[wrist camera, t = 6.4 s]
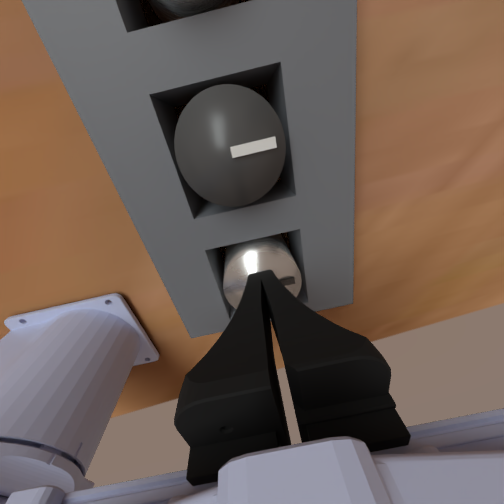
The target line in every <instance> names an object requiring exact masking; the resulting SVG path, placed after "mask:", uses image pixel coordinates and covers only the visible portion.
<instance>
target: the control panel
mask: <svg viewBox="0 0 504 504" xmlns="http://www.w3.org/2000/svg"><path fill="white" fill-rule="evenodd" d="M22 2H23V4H24V6H25V8H26V10H27V12H28V14H29V16H30V18H31V20H32V22H33V24H34V26H35V28H36V30H37V32H38V34H39V36H40V38H41V40H42V42H43V44H44V46H45V48H46V50H47V52H48V54H49V56H50V58H51V60H52V62H53V64H54V66H55V68H56V70H57V72H58V74H59V76H60V78H61V80H62V82H63V84H64V86H65V88H66V90H67V92H68V94H69V96H70V98H71V100H72V102H73V104H74V106H75V108H76V110H77V112H78V114H79V116H80V118H81V120H82V122H83V124H84V126H85V128H86V130H87V132H88V134H89V136H90V138H91V140H92V142H93V144H94V146H95V148H96V150H97V152H98V154H99V156H100V158H101V160H102V162H103V164H104V166H105V168H106V170H107V172H108V174H109V176H110V178H111V179H112V181H113V183H114V185H115V187H116V189H117V191H118V193H119V195H120V197H121V199H122V201H123V203H124V205H125V207H126V209H127V211H128V213H129V215H130V217H131V219H132V221H133V223H134V225H135V227H136V229H137V231H138V233H139V235H140V237H141V239H142V241H143V243H144V245H145V247H146V249H147V251H148V253H149V255H150V257H151V259H152V261H153V263H154V265H155V267H156V269H157V271H158V273H159V275H160V277H161V279H162V281H163V283H164V285H165V287H166V289H167V291H168V293H169V295H170V297H171V299H172V301H173V303H174V305H175V307H176V309H177V311H178V313H179V315H180V317H181V319H182V321H183V323H184V325H185V327H186V329H187V331H188V333H189V335H190V337H191V338H195V337H199V336H204V335H209V334H213V333H218V332H223V331H224V330H225V329H226V327H227V325H228V324H229V322H230V320H231V319H232V317H233V315H234V313H235V311H236V309H235V308H234V307H233V306H232V305H231V304H230V303H229V302H228V300H227V299H226V297H225V294H224V290H223V281H224V266H225V265H224V262H223V259H222V256H221V253H220V250H219V247H222V246H227V245H231V244H236V243H240V242H245V241H249V240H253V239H258V238H262V237H267V236H271V235H275V234H280V233H284V232H288V236H289V243H290V250H291V255H292V257H293V259H294V261H295V263H296V265H297V267H298V269H299V271H300V274H301V280H302V283H301V289H300V291H299V294H298V296H297V297H296V298H297V299H298V300H300V301H301V302H302V303H303V304H305V305H306V306H307V307H309V308H310V309H311V310H313V311H314V312H316V311H320V310H325V309H330V308H334V307H339V306H344V305H348V304H353V272H354V192H355V111H356V30H357V0H251V1H247V2H244V3H240V4H236V5H232V6H228V7H224V8H221V9H217V10H213V11H209V12H205V13H201V14H197V15H194V16H190V17H186V18H182V19H178V20H174V21H170V22H167V23H163V24H159V25H155V26H151V27H148V25H147V22H146V19H145V16H144V13H143V9H142V6H141V3H140V0H22ZM222 84H234V85H240V86H243V87H246V88H253V87H257V86H261V85H265V84H267V91H268V98H269V104H270V105H271V106H272V108H273V109H274V110H275V112H276V114H277V115H278V117H279V119H280V122H281V124H282V127H283V130H284V135H285V142H286V155H285V161H284V165H283V169H282V171H281V174H280V181H279V182H276V183H275V184H274V186H273V187H272V188H271V189H270V190H269V191H268V192H267V193H266V194H265V195H264V196H263V197H261V198H260V199H258V200H256V201H254V202H252V203H250V204H247V205H243V206H236V207H229V206H222V205H218V204H215V203H212V202H210V201H208V200H206V199H203V197H201V196H200V195H199V194H197V193H196V192H195V191H194V190H193V189H192V188H191V187H190V186H189V184H188V183H187V182H186V180H185V179H184V177H183V175H182V173H181V171H180V169H179V166H178V163H177V160H176V155H175V148H174V138H175V130H176V126H177V123H178V119H177V115H176V112H175V109H174V107H176V106H180V105H184V104H188V103H189V102H190V101H191V99H192V98H193V97H195V96H196V95H197V94H199V93H200V92H201V91H203V90H205V89H207V88H210V87H213V86H216V85H222ZM270 321H271V318H270Z"/></svg>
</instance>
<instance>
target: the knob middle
mask: <svg viewBox="0 0 504 504" xmlns="http://www.w3.org/2000/svg"><path fill="white" fill-rule="evenodd" d="M174 148H175V155H176V160H177V163H178V166H179V169H180V171H181V173H182V175H183V177H184V179H185V180H186V182H187V183H188V184H189V186H190V187H191V188H192V189H193V190H194V191H195V192H196V193H197V194H199V195H200V196H201V197H203V198H204V199H206V200H208V201H210V202H212V203H215V204H218V205H222V206H229V207H236V206H243V205H247V204H250V203H252V202H254V201H256V200H258V199H260V198H261V197H263V196H264V195H265V194H266V193H267V192H268V191H269V190H270V189H271V188H272V187H273V186H274V184H275V183H276V181H277V180H278V178H279V176H280V174H281V171H282V169H283V165H284V161H285V155H286V142H285V135H284V130H283V127H282V124H281V122H280V119H279V117H278V115H277V114H276V112H275V110H274V109H273V108H272V106H271V105H270V104H269V103H268V102H267V101H266V100H265V99H264V98H263V97H262V96H260V95H259V94H258V93H256V92H255V91H253V90H251V89H249V88H246V87H243V86H240V85H234V84H222V85H216V86H213V87H210V88H207V89H205V90H203V91H201V92H200V93H199V94H197V95H196V96H195V97H193V98H192V99H191V101H190V102H189V103H188V104H187V105H186V107H185V108H184V109H183V111H182V113H181V115H180V117H179V120H178V123H177V126H176V130H175V138H174Z"/></svg>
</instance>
